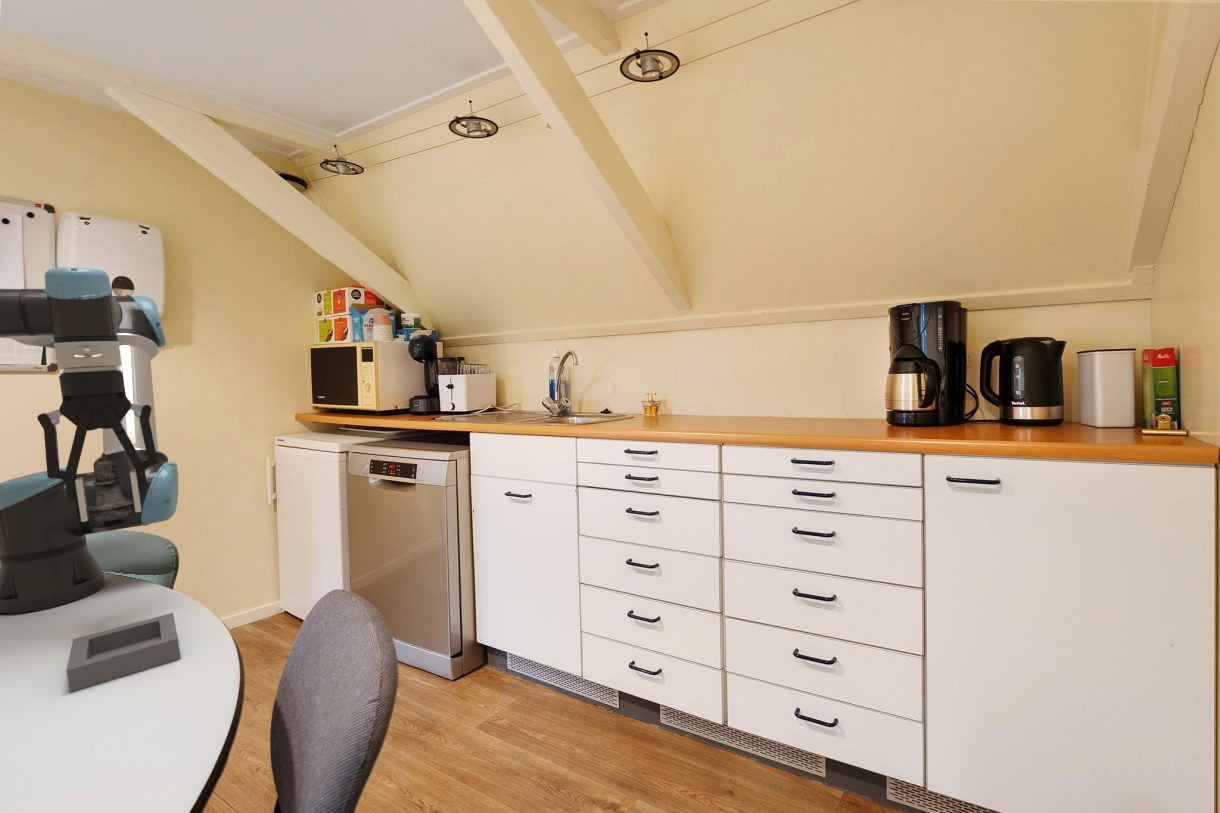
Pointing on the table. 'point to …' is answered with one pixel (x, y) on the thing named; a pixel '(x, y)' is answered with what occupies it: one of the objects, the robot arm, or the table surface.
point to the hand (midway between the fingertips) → (112, 514)
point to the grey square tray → (122, 651)
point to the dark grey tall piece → (109, 497)
